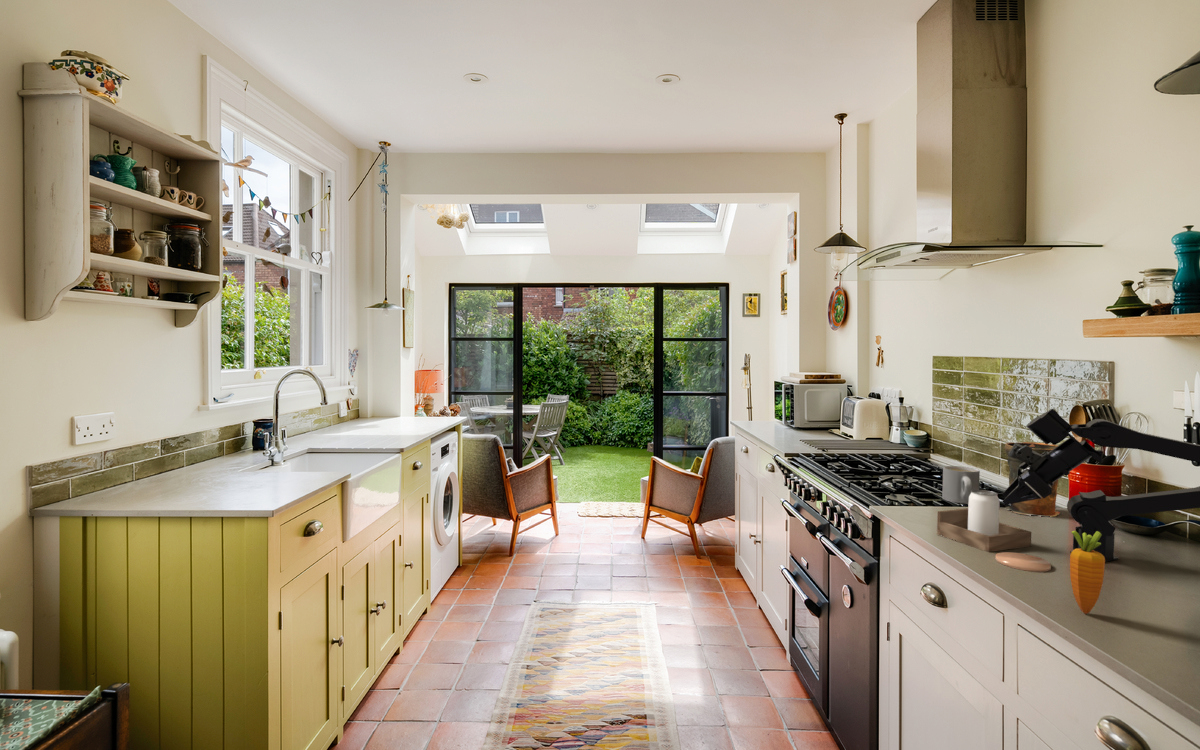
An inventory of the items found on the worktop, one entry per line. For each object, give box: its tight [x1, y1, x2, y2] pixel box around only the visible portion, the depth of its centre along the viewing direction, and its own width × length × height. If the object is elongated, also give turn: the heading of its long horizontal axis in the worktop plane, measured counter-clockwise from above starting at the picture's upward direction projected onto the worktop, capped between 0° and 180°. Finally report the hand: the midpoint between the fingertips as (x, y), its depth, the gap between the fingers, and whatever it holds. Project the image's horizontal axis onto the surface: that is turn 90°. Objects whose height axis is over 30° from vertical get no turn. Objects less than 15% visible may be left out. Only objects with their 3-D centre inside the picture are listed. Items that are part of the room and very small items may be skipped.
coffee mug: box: [941, 465, 981, 505], centre depth 188 cm, size 13×10×10 cm
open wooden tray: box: [936, 507, 1033, 553], centre depth 148 cm, size 14×14×6 cm
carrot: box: [1069, 530, 1106, 615], centre depth 106 cm, size 5×5×15 cm
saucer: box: [995, 551, 1052, 573], centre depth 132 cm, size 10×10×1 cm
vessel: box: [1004, 441, 1060, 518], centre depth 176 cm, size 14×14×20 cm
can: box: [967, 489, 1001, 536], centre depth 148 cm, size 6×6×12 cm
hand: (1003, 499), depth 145 cm, fingers open, 9 cm apart
